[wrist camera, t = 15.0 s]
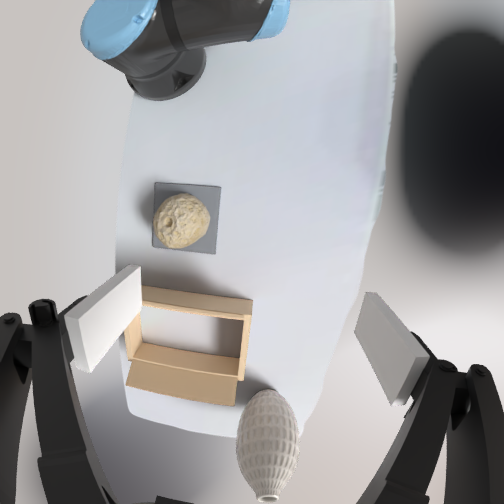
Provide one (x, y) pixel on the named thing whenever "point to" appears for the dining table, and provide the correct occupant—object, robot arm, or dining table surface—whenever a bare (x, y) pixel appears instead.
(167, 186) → the mat
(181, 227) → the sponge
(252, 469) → the vase
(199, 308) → the carton
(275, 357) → the dining table surface
